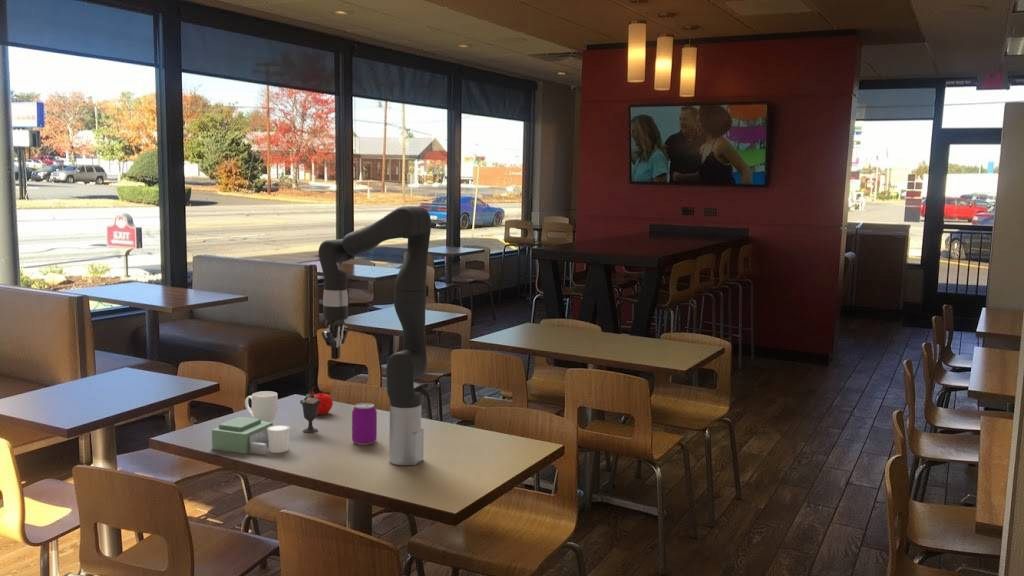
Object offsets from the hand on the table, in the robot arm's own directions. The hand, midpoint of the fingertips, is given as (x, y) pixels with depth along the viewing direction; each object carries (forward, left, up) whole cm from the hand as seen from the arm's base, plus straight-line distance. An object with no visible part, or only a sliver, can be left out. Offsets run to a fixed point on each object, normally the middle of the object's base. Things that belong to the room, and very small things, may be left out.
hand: (335, 358), depth 260 cm
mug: (+32, -6, -27) cm, 42 cm away
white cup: (+12, +13, -27) cm, 33 cm away
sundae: (+14, -8, -27) cm, 32 cm away
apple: (+22, -28, -27) cm, 45 cm away
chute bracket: (+16, +13, -27) cm, 34 cm away
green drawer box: (+25, +13, -27) cm, 39 cm away
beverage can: (-8, -4, -27) cm, 29 cm away
